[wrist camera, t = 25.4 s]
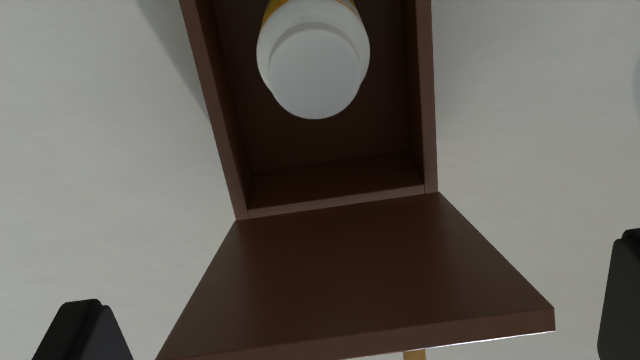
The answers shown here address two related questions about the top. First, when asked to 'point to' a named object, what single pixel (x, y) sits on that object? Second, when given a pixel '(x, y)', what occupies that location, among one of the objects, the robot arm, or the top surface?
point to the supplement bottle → (313, 55)
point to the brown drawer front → (355, 287)
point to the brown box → (318, 134)
